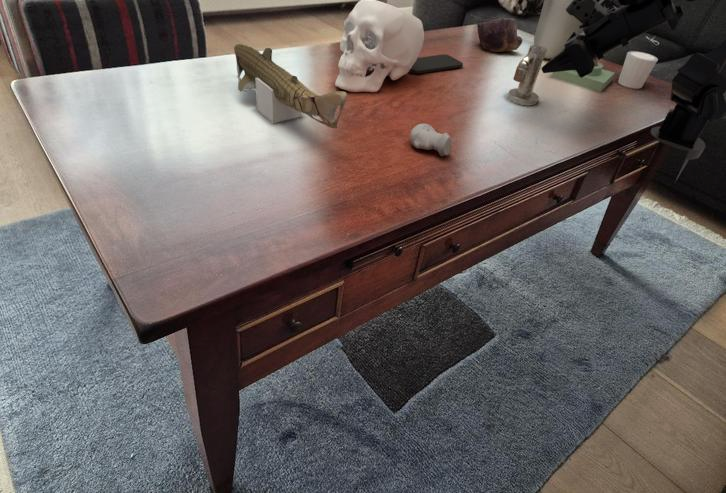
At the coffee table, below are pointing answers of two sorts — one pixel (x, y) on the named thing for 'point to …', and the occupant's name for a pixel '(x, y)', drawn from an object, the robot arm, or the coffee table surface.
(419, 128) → the smooth white sculpture
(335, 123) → the wood carving
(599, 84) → the push button box
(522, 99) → the faucet
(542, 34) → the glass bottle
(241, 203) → the coffee table surface
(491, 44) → the rock
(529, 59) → the spout
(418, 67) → the phone
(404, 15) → the skull planter
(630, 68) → the shot glass
